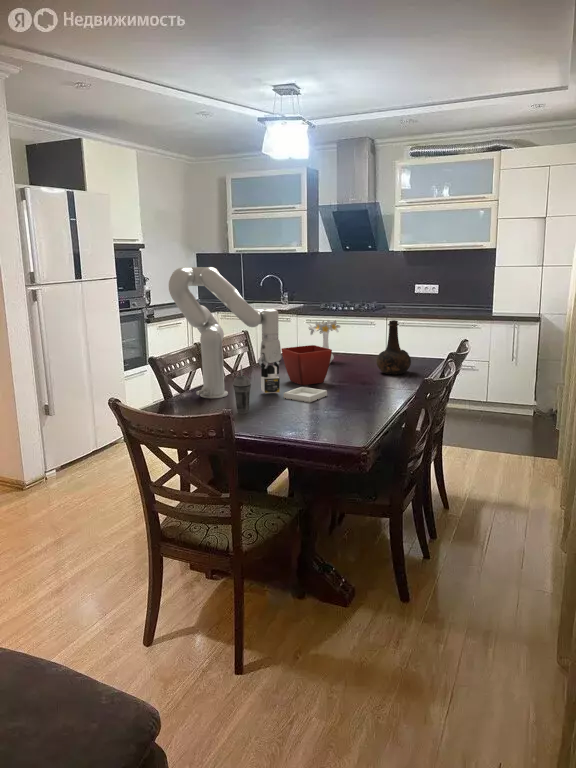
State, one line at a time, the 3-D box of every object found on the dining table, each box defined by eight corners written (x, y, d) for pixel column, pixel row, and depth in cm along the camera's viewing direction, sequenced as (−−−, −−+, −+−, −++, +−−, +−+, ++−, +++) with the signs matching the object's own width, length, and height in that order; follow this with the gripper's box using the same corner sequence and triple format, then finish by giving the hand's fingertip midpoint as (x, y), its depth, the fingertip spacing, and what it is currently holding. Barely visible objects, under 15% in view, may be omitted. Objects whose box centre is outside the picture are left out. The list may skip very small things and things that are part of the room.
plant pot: (281, 380, 295) (280, 347, 292) (313, 376, 304) (313, 344, 300) (299, 388, 279) (298, 353, 275) (333, 383, 287) (333, 349, 283)
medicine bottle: (264, 393, 262) (264, 367, 260) (260, 390, 269) (260, 364, 266) (279, 392, 264) (279, 366, 262) (275, 389, 271) (275, 363, 268)
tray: (309, 402, 251) (309, 396, 251) (283, 398, 260) (283, 392, 259) (326, 395, 262) (326, 390, 262) (301, 392, 271) (301, 386, 270)
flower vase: (309, 360, 348) (309, 318, 342) (340, 360, 346) (340, 318, 340) (308, 364, 335) (307, 321, 330) (340, 364, 333) (340, 321, 328)
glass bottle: (417, 374, 304) (418, 321, 298) (387, 378, 297) (388, 323, 291) (398, 368, 320) (399, 318, 314) (370, 371, 314) (370, 319, 307)
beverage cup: (252, 409, 241) (250, 362, 237) (251, 414, 234) (250, 365, 230) (234, 410, 241) (232, 362, 236) (233, 415, 234) (231, 366, 229)
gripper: (264, 340, 252) (264, 379, 256) (288, 335, 266) (288, 373, 270) (251, 338, 256) (251, 377, 260) (275, 334, 270) (275, 371, 274)
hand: (270, 375), depth 265 cm, fingers closed on medicine bottle, 7 cm apart
